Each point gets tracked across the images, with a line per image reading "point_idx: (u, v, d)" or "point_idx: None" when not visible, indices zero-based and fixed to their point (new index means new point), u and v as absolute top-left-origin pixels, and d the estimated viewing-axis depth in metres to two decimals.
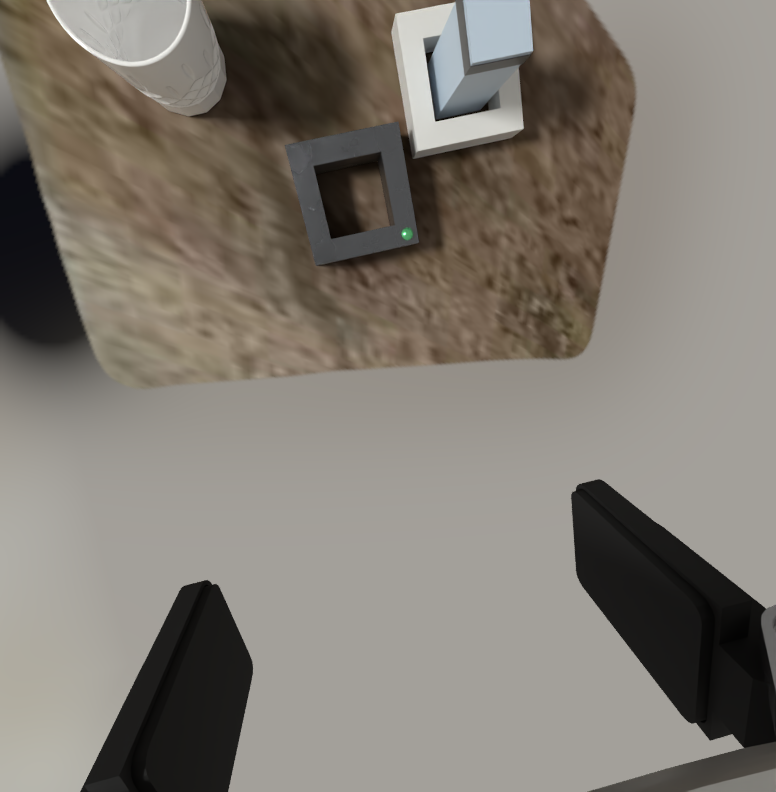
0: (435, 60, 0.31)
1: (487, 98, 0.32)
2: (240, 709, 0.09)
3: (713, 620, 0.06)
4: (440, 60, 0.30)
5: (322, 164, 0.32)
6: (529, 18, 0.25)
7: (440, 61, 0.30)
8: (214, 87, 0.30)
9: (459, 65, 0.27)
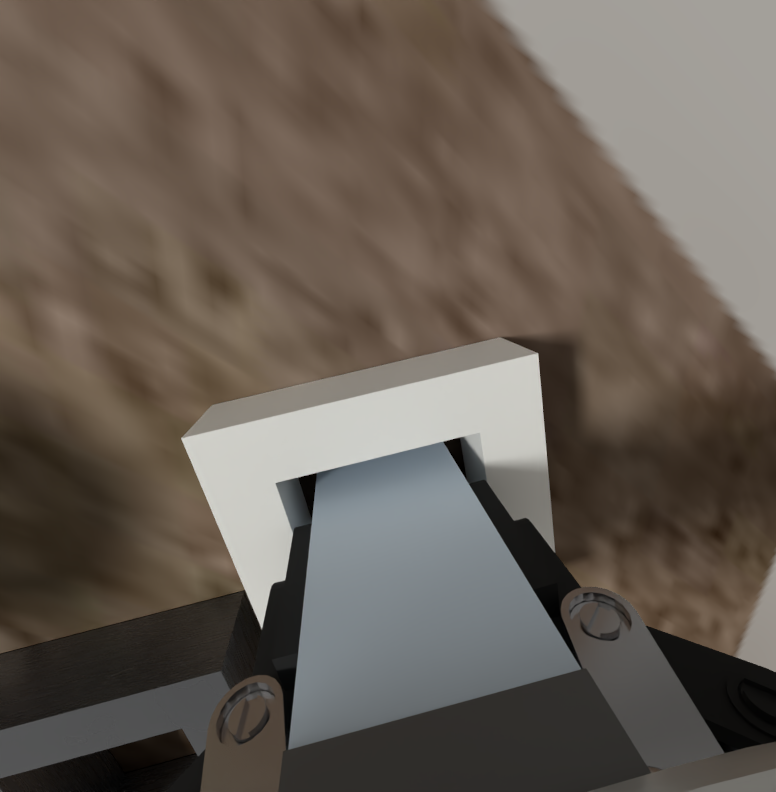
0: None
1: None
2: None
3: None
4: None
5: None
6: None
7: None
8: None
9: None
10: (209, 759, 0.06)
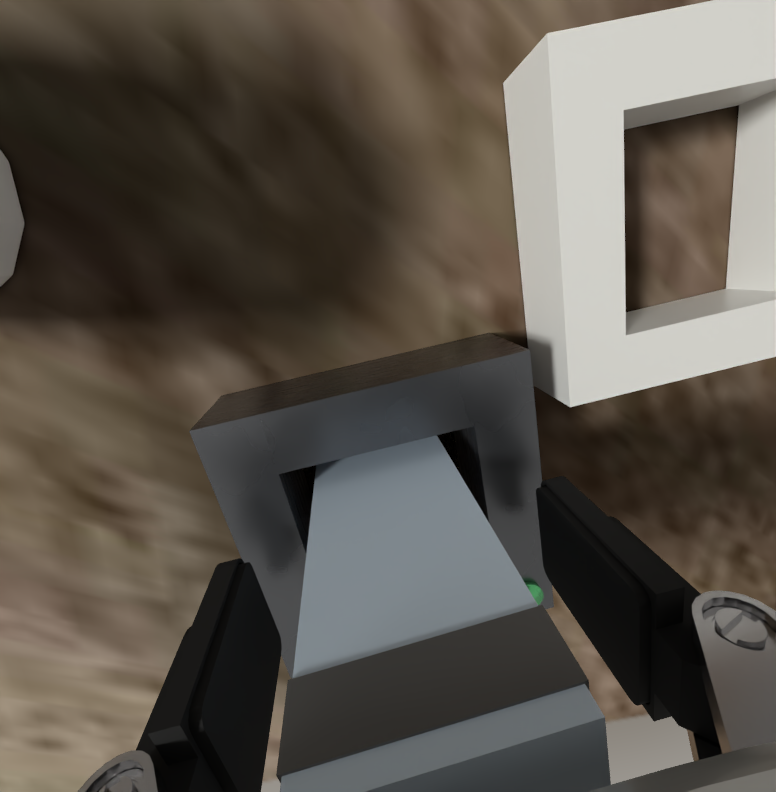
0: None
1: None
2: (273, 680, 0.10)
3: (650, 606, 0.07)
4: None
5: None
6: None
7: None
8: None
9: None
10: None
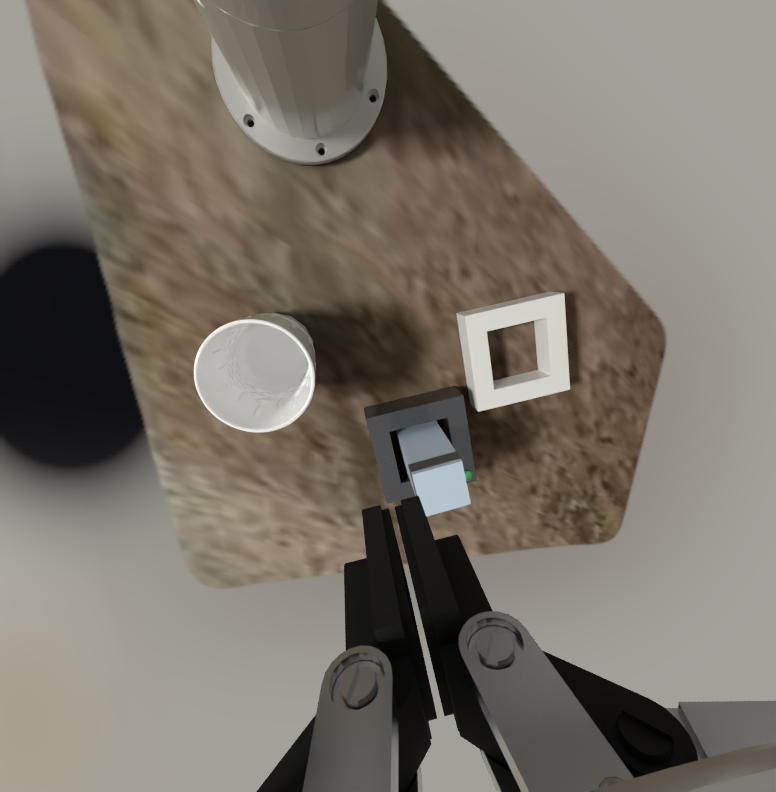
0: (399, 441, 0.38)
1: None
2: None
3: (432, 625, 0.07)
4: (402, 451, 0.37)
5: None
6: (466, 486, 0.31)
7: (402, 452, 0.37)
8: None
9: None
10: (321, 713, 0.06)
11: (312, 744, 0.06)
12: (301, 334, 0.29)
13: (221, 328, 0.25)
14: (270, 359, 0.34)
